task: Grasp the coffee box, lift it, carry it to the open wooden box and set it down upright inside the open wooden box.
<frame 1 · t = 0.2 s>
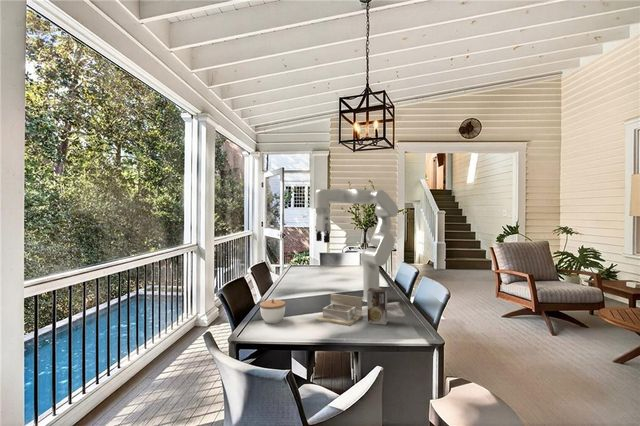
hand: (322, 241, 203), 37 cm above the table, tool pointing down, fingers open, 9 cm apart
lidded bowl: (272, 321, 180), on the table
open wooden box: (339, 318, 184), on the table
coffee box: (377, 322, 178), on the table
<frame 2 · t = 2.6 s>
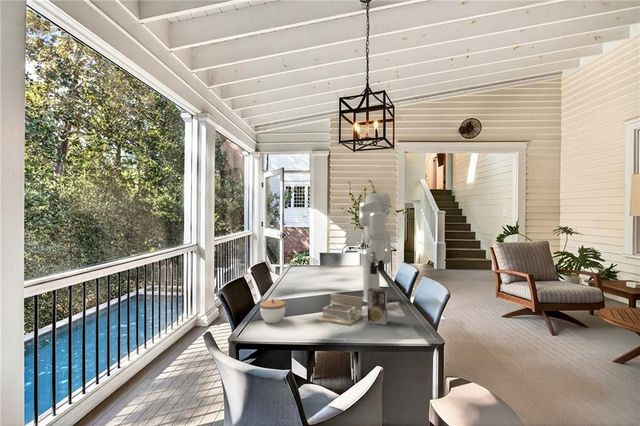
hand: (377, 272, 177), 25 cm above the table, tool pointing down, fingers open, 9 cm apart
nothing on the table moved.
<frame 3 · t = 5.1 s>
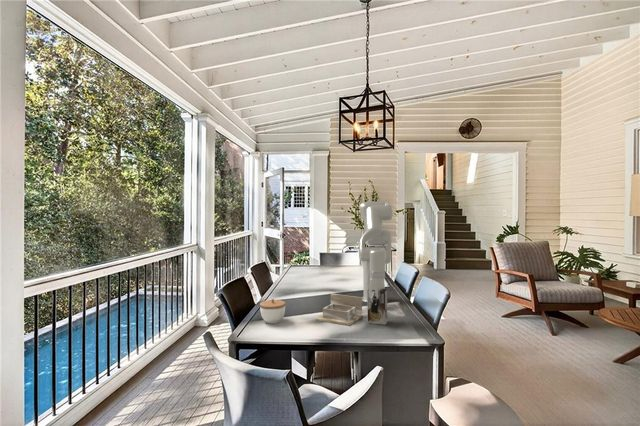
hand: (377, 310, 177), 6 cm above the table, tool pointing down, fingers closed on coffee box, 7 cm apart
coffee box: (377, 322, 178), on the table, touching gripper
everything else where it was.
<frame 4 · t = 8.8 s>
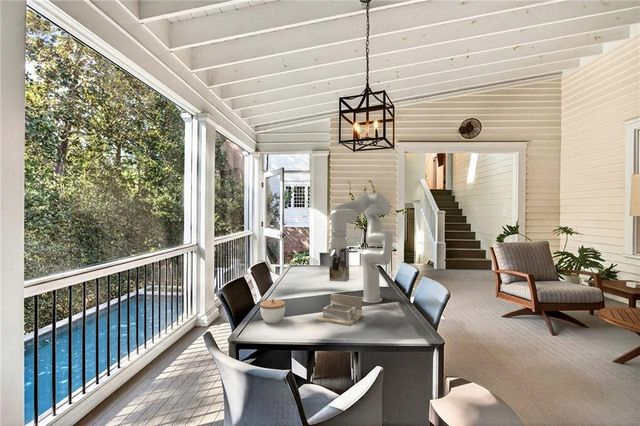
hand: (339, 268, 183), 25 cm above the table, tool pointing down, fingers closed on coffee box, 7 cm apart
coffee box: (339, 280, 183), point 19 cm above the table, touching gripper
everything else where it was.
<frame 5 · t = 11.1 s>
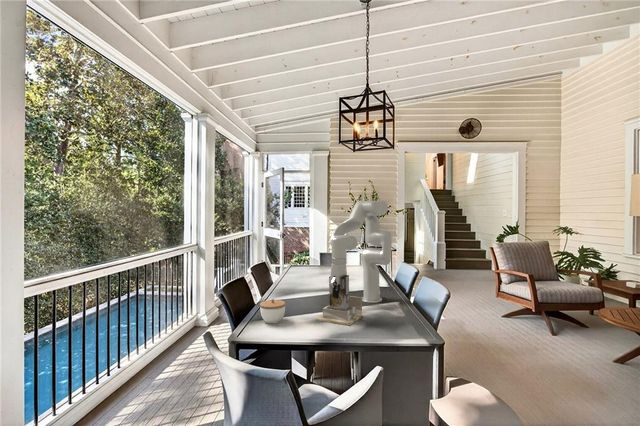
hand: (339, 295, 183), 12 cm above the table, tool pointing down, fingers closed on coffee box, 7 cm apart
coffee box: (339, 307, 184), point 6 cm above the table, touching gripper
everything else where it was.
when the fingers open (8 cm above the table, at t = 12.9 s): coffee box drops 1 cm, resting on open wooden box.
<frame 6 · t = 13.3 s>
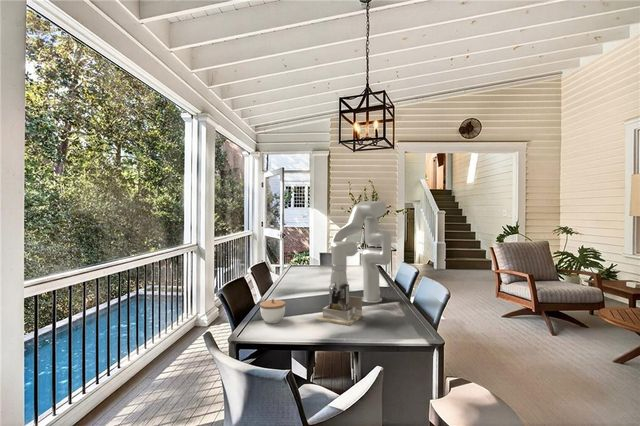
hand: (339, 301, 184), 9 cm above the table, tool pointing down, fingers open, 9 cm apart
coffee box: (339, 316, 184), point 1 cm above the table, touching open wooden box
everything else where it was.
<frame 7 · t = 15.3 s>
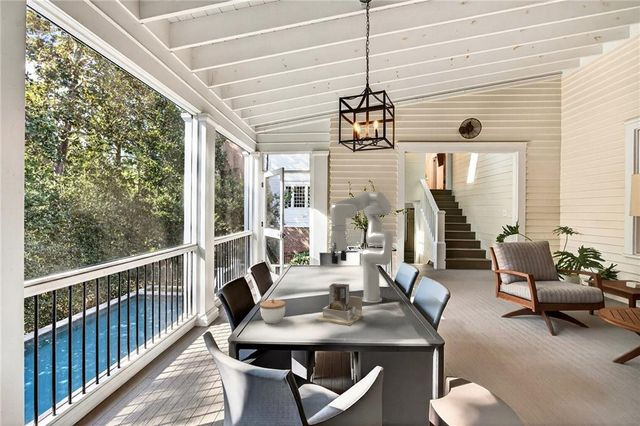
hand: (339, 262, 184), 29 cm above the table, tool pointing down, fingers open, 9 cm apart
nothing on the table moved.
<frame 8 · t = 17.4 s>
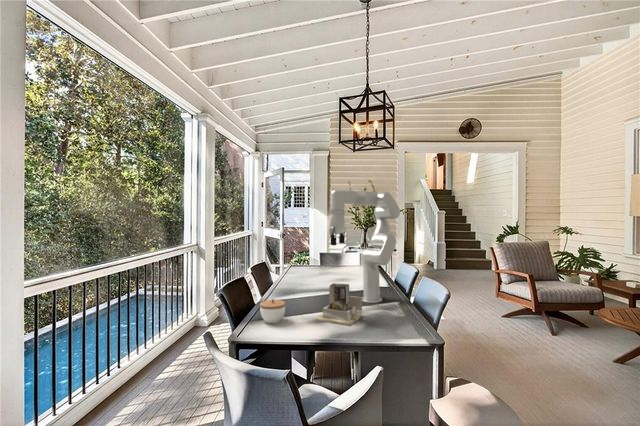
hand: (337, 244, 197), 36 cm above the table, tool pointing down, fingers open, 9 cm apart
nothing on the table moved.
at the end: coffee box 0.2 cm off-centre on the open wooden box, point 0.8 cm above the open wooden box's base; coffee box tilted 0°; the gripper is holding nothing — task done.
